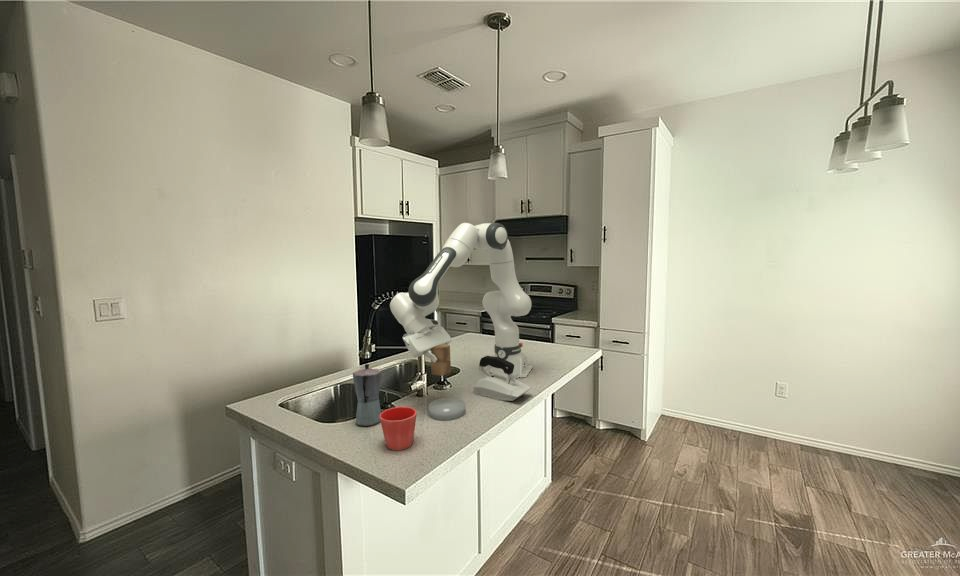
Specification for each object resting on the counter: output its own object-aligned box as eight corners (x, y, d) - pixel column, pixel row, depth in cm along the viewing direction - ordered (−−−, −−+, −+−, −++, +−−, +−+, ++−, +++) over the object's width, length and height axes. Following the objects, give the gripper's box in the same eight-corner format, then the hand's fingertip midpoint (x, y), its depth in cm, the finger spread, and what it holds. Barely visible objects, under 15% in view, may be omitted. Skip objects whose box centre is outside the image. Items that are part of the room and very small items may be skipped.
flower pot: (394, 433, 123) (393, 404, 122) (424, 438, 118) (423, 408, 118) (373, 449, 113) (371, 417, 112) (405, 456, 109) (403, 423, 108)
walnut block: (439, 370, 142) (438, 343, 141) (450, 372, 139) (449, 345, 138) (431, 374, 137) (430, 346, 136) (442, 376, 135) (441, 348, 134)
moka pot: (384, 411, 140) (381, 358, 138) (383, 429, 125) (380, 370, 124) (356, 414, 138) (353, 360, 136) (353, 433, 123) (349, 373, 121)
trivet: (442, 403, 146) (442, 395, 146) (471, 409, 139) (471, 401, 139) (421, 416, 135) (421, 408, 135) (451, 423, 128) (451, 415, 128)
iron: (518, 406, 142) (517, 366, 140) (467, 393, 156) (465, 357, 154) (532, 396, 150) (531, 359, 149) (482, 385, 165) (481, 351, 163)
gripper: (405, 329, 131) (428, 360, 127) (440, 319, 149) (462, 346, 145) (396, 341, 134) (419, 372, 130) (432, 330, 151) (453, 357, 147)
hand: (442, 358), depth 137 cm, fingers closed on walnut block, 5 cm apart
